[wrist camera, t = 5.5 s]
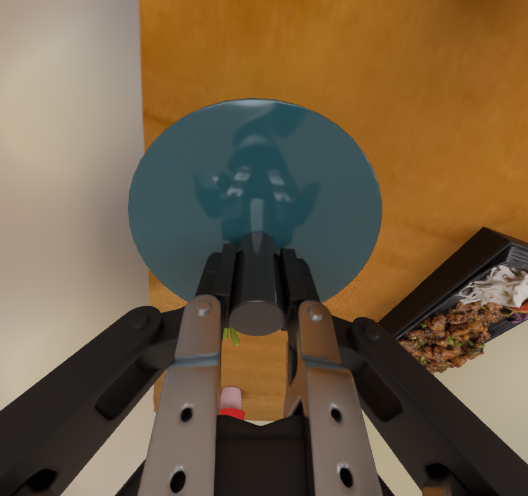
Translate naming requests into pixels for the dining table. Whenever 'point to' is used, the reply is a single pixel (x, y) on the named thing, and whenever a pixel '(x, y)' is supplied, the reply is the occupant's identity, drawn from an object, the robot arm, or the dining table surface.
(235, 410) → the mushroom
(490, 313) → the food platter
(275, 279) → the pan lid
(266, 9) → the dining table surface
